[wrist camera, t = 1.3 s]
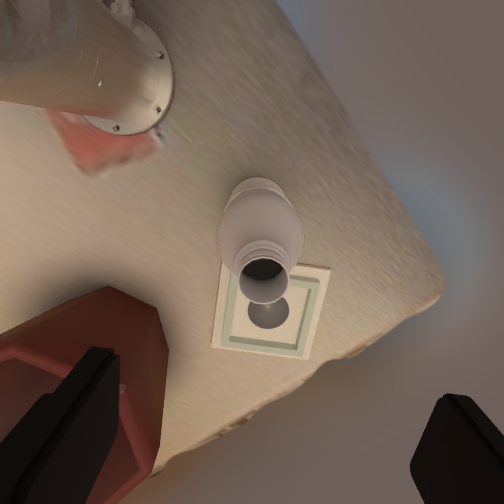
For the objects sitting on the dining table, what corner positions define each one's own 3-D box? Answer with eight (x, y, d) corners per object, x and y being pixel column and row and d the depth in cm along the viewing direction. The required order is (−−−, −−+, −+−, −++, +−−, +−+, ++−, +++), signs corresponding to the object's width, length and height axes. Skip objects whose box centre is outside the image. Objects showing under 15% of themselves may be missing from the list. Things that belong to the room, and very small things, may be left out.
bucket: (154, 247, 43) (35, 371, 20) (218, 369, 50) (188, 573, 26) (6, 306, 46) (-252, 475, 23) (86, 414, 53) (-49, 632, 29)
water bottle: (259, 239, 43) (267, 357, 19) (218, 205, 41) (173, 286, 18) (295, 200, 41) (354, 275, 17) (255, 163, 39) (258, 189, 16)
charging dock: (223, 252, 43) (222, 258, 41) (329, 267, 44) (333, 274, 42) (211, 343, 48) (209, 353, 46) (307, 356, 49) (310, 366, 46)
